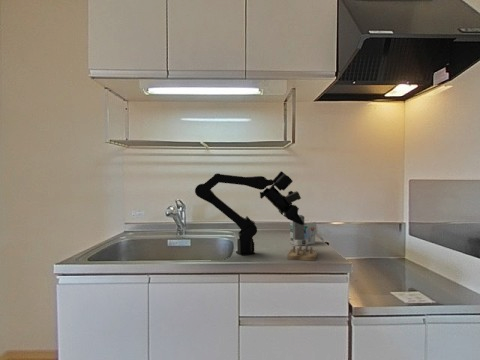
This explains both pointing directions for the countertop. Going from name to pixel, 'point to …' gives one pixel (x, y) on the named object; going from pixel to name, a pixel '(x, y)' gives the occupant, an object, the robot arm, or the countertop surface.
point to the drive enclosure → (298, 230)
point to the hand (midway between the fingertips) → (301, 223)
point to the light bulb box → (308, 234)
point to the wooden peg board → (302, 253)
